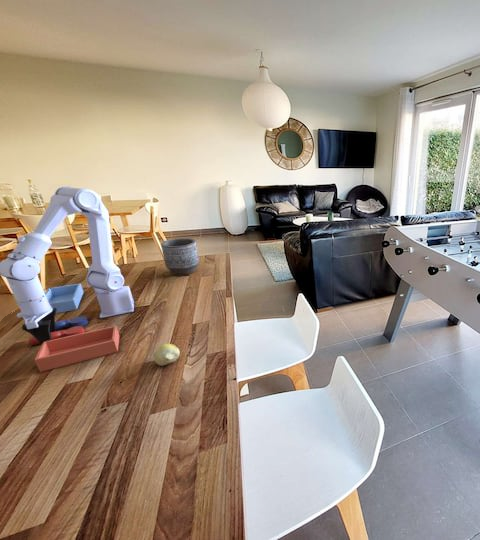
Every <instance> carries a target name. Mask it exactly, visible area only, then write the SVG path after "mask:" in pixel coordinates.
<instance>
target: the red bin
mask: <svg viewBox="0 0 480 540" xmlns="http://www.w3.org/2000/svg"><path fill="white" fill-rule="evenodd" d="M119 344H120V333H119V330H118V327H117V325H113V326H108V327H103V328H100V329H95V330H90V331H85V333H81V334H76V335H72V336H67V337H63V338H58V339H54V340H49V341H45V342H43V343H42V344H41V346H40V348H39V350H38V352H37V354H36V356H35V358H34V362H35V365H36V366H37V369H38V371H39V373H43V372H45V371H49V370H53V369H57V368H61V367H65V366H68V365H72V364H76V363H80V362H83V361H87V360H91V359H95V358H99V357H102V356H106V355H110V354H115V353H118V352H119Z"/></svg>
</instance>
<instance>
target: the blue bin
mask: <svg viewBox="0 0 480 540" xmlns="http://www.w3.org/2000/svg"><path fill="white" fill-rule="evenodd" d="M82 286H83V285H82V284H81V283H74V284H68V285H67V284H66V285H61V286H54V287H49V288H48V289H47V290H46V292H45V294H46V297H47V299H48V301H49V304H50V306H51V307H52V308H56V309H57V310H56V314H60V313H65V312H71V311H76V310H78V308H79V305H80V304H81V300H82V297H83V295H84V289H83V287H82ZM50 288H51V289H50ZM48 290H49V291H48ZM47 291H48V292H47Z"/></svg>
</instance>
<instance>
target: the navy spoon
mask: <svg viewBox="0 0 480 540" xmlns="http://www.w3.org/2000/svg"><path fill="white" fill-rule="evenodd" d="M88 324H89V321H88V317H87V316H85V315H80V316H76V317H73V318H70V319H63V320H58V321H55V326H56V331H59V330H64V329H66V328H67V329H69V328H71V327H75V326H82V327H84V326H87V325H88Z"/></svg>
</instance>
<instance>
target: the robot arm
mask: <svg viewBox="0 0 480 540" xmlns="http://www.w3.org/2000/svg"><path fill="white" fill-rule="evenodd" d="M78 213H79V214H81V215H83V216H84V217H86V220H87V229H88V237H89V245H90V255H91V262H92V263H91V264H90V265H89V267H87V271H88V272H87V275H86V277H85V281H86V283H87V285H88V286H89V287H92V288H93V290H94V293H95V296H96V299H97V302H98V305H99V308H100V313H99V319H103V318H109V317H113V316H118V315H124V314H128V313H129V314H130V313H133V312H134V310H135V301H134V298H133V295H132V291H131V288H130V286H129V285H125V278H124V276H123V275H122V273H121V269H120V268H119V266H118V265H116V264H115V262H114V254H113V253H114V252H113V243H112V234H111V225H110V213H109V211H108V209H107V207H106V206H105V205H104V203H103V202H102V196H101V195H100V194H98V193H97V192H95V191H94V190H93V189H90V188H78V187H71V186H61V187H58V188H57V189H56V190H55V192H54V194H53V195H51V196H50V200H49V204H48V206H47V208H46V210H45V211H44V213H43V215H42V216H41V218H40V220H39V222H38V223H37V225H36V227H35V228H34V230H33V231H32V232H28V233H24V235H23V236H19V237H18V238H17V242H18V243H17V244H16V246H15V247H14V249H13V250H12V252H11V253H8V254H7V257H6V258H5V259H2V260H1V261H0V276H1V277H4V278H5V279H6V282H7V283H8V285H9V288H10V290H11V292H12V295H13V298H14V299H15V301H16V304H17V306H18V307H19V311H20V312H18V313H17V314H16V318H18V319H20V318H23V320H24V322H25V323H23V324H22V325H21V330H22V331H24V332H26V333H29V335H31V336H32V337H33V336H34V337H35V338H36V339H37V340H38V341H39V342H40V344H41V345H42V344H43V342H45V341H49V340H51V334H50V333H51V332H56V331H57V330H56V326H55V322H56V314H57V313H56V310H57V309H56V308H52V307H51V306H50V304H49V301H48V299H47V297H46V294H45V293H46V292H45V290H44V287H43V285H42V283H41V280H40V278H39V274H40V273H41V271H42V270H41V261H42V260H43V259H44V257H45V255H46V254H47V252H48V251H49V249H50V248H51V246H52V245H53V242H52V240H51V237H52V235H53V234H54V233H55V231H56V230H58V228H59V226H60V225H61V224H62V222H63V221H64V220H65V219H66V218H67V216H70V215H74V214H78Z"/></svg>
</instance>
